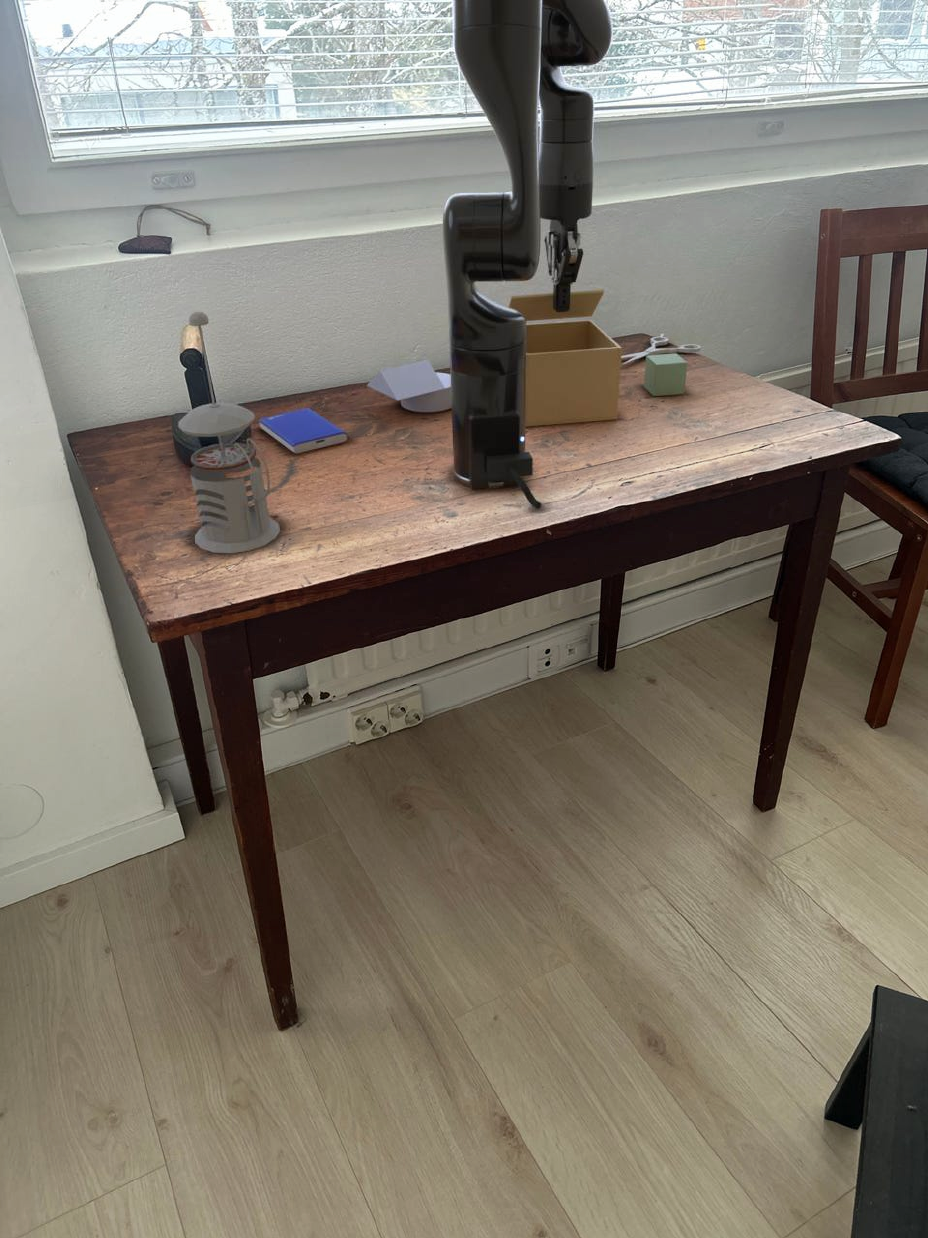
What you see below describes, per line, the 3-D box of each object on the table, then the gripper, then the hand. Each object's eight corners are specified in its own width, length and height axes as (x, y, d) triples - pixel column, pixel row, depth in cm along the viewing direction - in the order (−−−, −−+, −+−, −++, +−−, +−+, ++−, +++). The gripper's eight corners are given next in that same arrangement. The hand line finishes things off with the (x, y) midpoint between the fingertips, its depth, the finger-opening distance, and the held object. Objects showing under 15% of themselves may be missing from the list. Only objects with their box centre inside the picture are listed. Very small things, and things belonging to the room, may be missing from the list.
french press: (246, 507, 110) (209, 296, 96) (307, 534, 103) (277, 311, 89) (177, 536, 103) (127, 315, 90) (238, 567, 97) (194, 333, 83)
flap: (503, 322, 137) (503, 320, 138) (591, 316, 139) (591, 314, 139) (511, 298, 130) (511, 295, 130) (604, 292, 131) (603, 289, 131)
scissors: (709, 344, 160) (634, 367, 149) (708, 348, 160) (634, 372, 150) (662, 333, 167) (588, 354, 156) (662, 337, 167) (588, 359, 157)
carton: (503, 392, 144) (503, 325, 138) (588, 385, 145) (591, 319, 139) (524, 426, 130) (524, 354, 125) (617, 419, 132) (622, 347, 126)
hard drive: (258, 418, 132) (292, 443, 123) (309, 407, 135) (346, 430, 126) (260, 428, 132) (294, 454, 124) (310, 417, 136) (347, 441, 127)
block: (684, 393, 140) (687, 362, 138) (653, 396, 140) (656, 364, 137) (673, 384, 145) (676, 353, 142) (643, 386, 144) (646, 355, 141)
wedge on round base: (399, 422, 133) (469, 403, 139) (395, 377, 130) (468, 360, 136) (368, 406, 139) (437, 389, 146) (364, 363, 136) (435, 347, 142)
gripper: (527, 174, 126) (526, 302, 135) (549, 185, 115) (546, 323, 124) (579, 172, 127) (574, 299, 136) (605, 182, 116) (598, 320, 125)
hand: (561, 310), depth 130 cm, fingers closed
